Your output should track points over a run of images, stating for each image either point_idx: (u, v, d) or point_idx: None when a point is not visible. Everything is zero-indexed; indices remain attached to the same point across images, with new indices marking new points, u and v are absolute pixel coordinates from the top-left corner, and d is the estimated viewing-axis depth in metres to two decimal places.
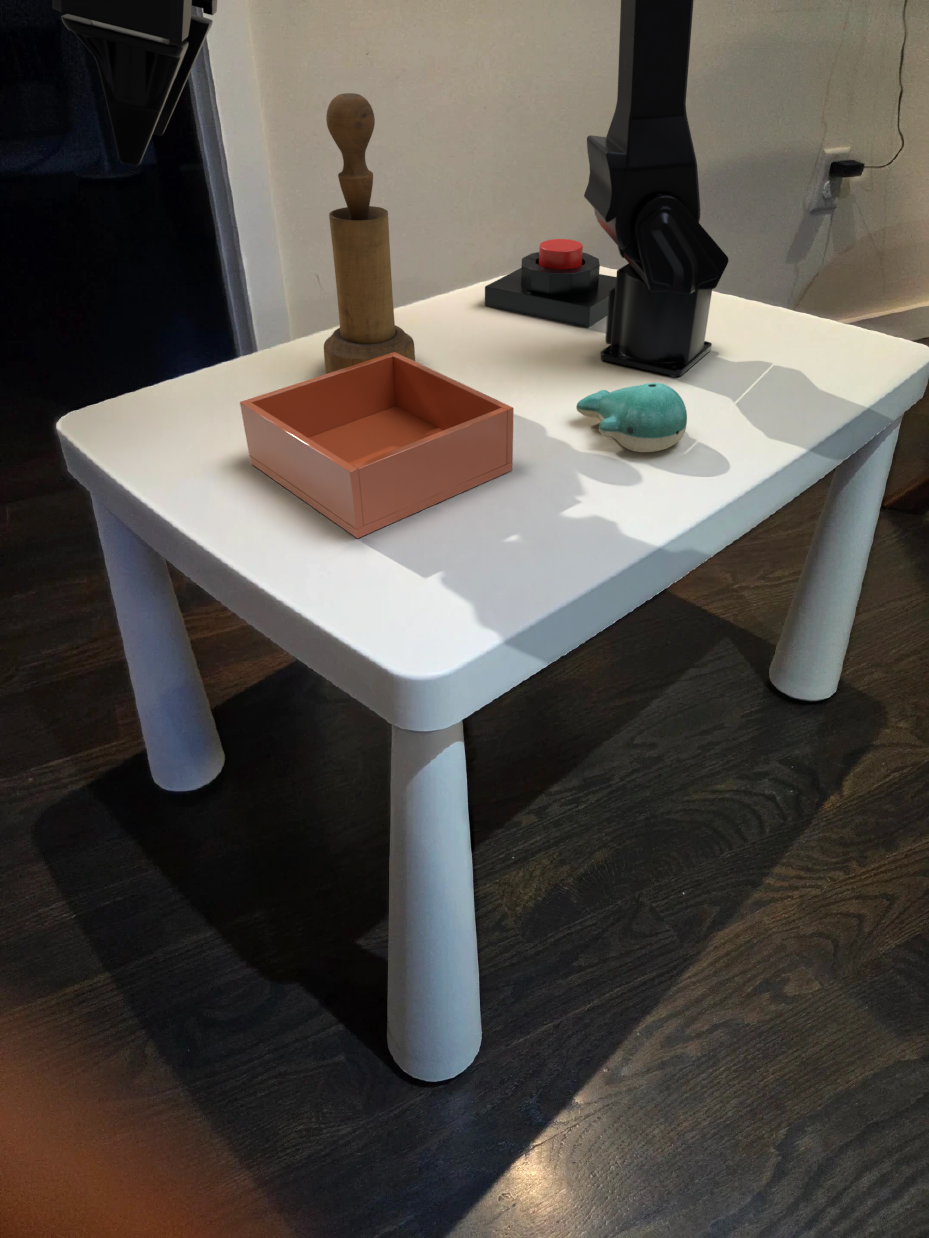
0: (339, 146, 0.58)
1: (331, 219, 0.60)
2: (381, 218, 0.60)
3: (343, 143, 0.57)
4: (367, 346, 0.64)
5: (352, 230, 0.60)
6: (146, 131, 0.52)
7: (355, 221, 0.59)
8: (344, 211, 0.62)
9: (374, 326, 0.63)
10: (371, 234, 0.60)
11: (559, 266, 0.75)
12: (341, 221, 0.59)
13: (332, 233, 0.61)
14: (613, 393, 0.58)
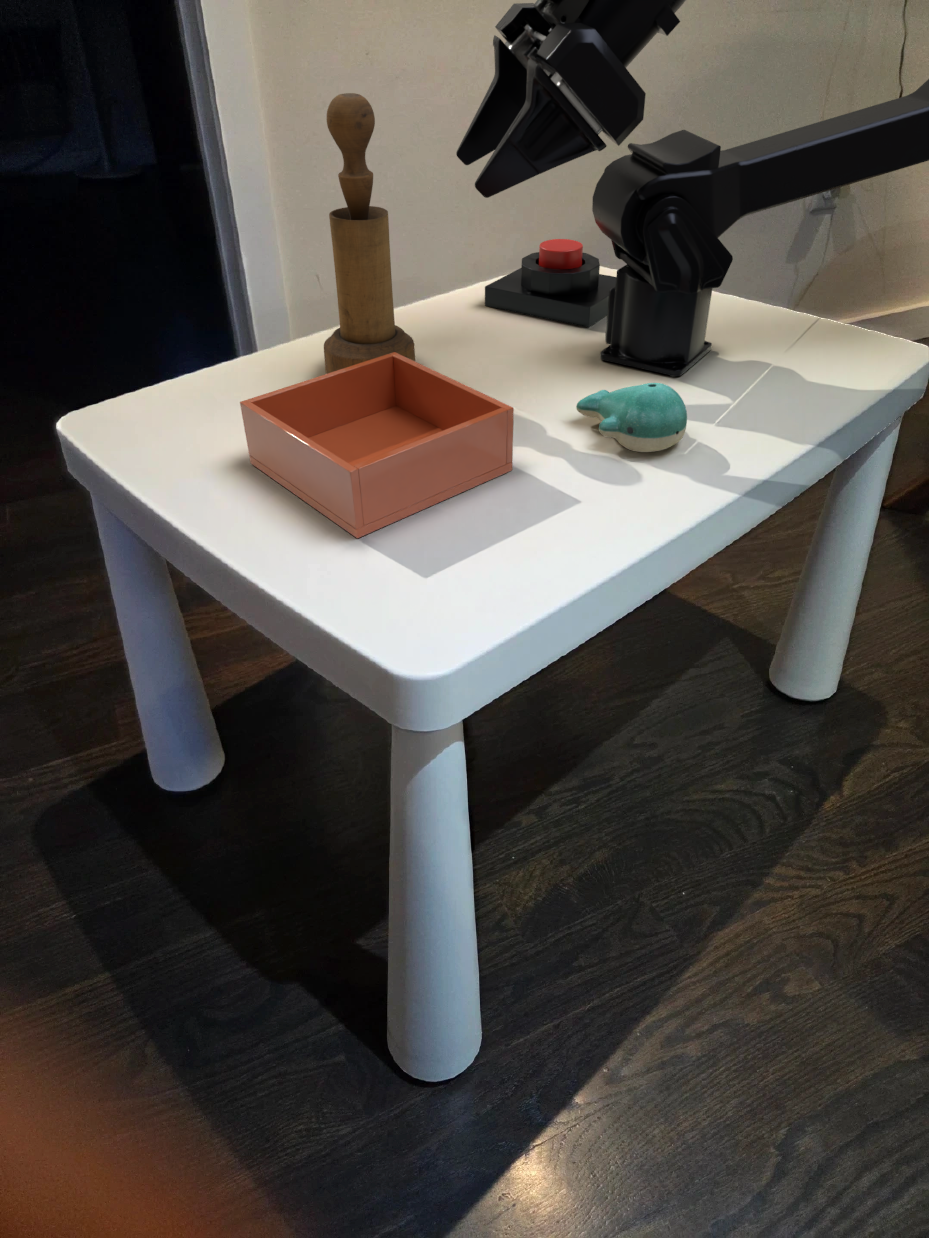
0: (339, 146, 0.58)
1: (331, 219, 0.60)
2: (381, 218, 0.60)
3: (343, 143, 0.57)
4: (367, 346, 0.64)
5: (352, 230, 0.60)
6: (516, 179, 0.55)
7: (355, 221, 0.59)
8: (344, 211, 0.62)
9: (374, 326, 0.63)
10: (371, 234, 0.60)
11: (559, 266, 0.75)
12: (341, 221, 0.59)
13: (332, 233, 0.61)
14: (613, 393, 0.58)
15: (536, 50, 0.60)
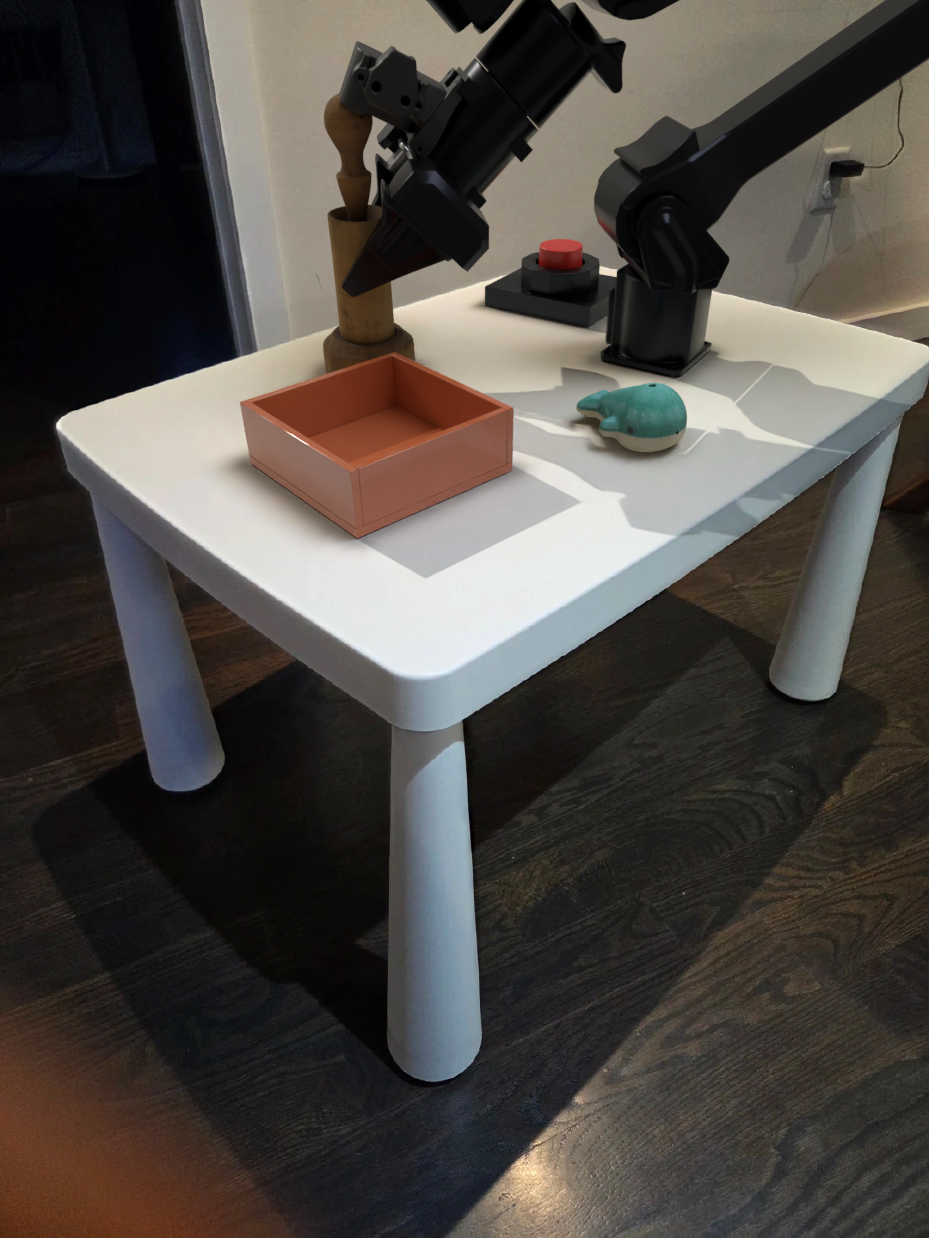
0: (337, 147, 0.57)
1: (329, 220, 0.60)
2: None
3: (341, 144, 0.57)
4: (367, 346, 0.64)
5: (351, 231, 0.59)
6: (379, 281, 0.61)
7: (354, 222, 0.59)
8: (342, 210, 0.61)
9: (373, 326, 0.63)
10: None
11: (559, 266, 0.75)
12: (340, 223, 0.59)
13: (330, 234, 0.60)
14: (613, 393, 0.58)
15: None
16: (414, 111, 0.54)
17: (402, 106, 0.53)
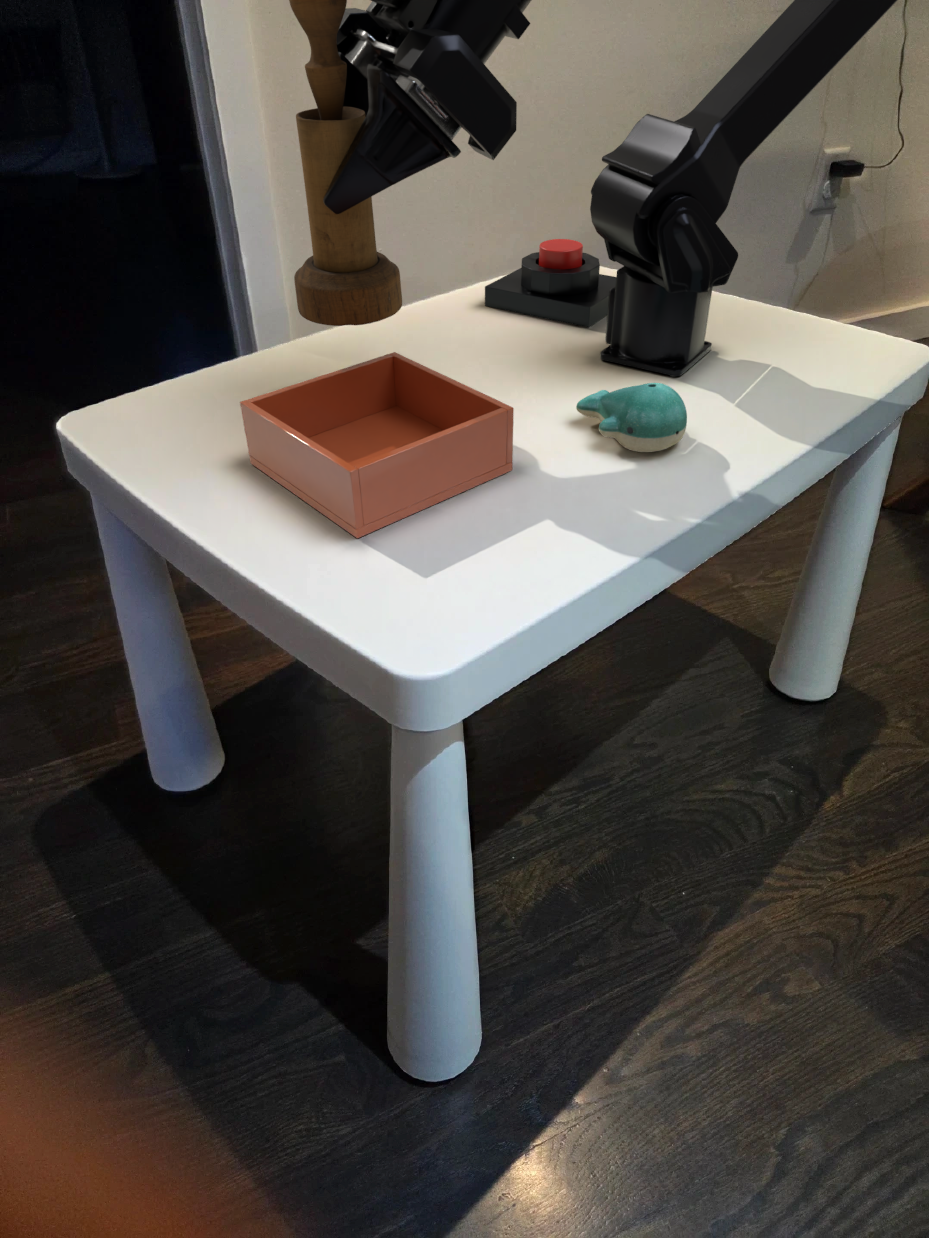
0: (307, 29, 0.48)
1: (302, 122, 0.50)
2: (361, 117, 0.51)
3: (314, 24, 0.48)
4: (355, 274, 0.55)
5: (331, 133, 0.50)
6: (368, 192, 0.52)
7: (335, 121, 0.50)
8: (308, 114, 0.52)
9: (359, 250, 0.55)
10: (353, 137, 0.51)
11: (559, 266, 0.75)
12: (318, 123, 0.50)
13: (303, 140, 0.51)
14: (613, 393, 0.58)
15: None
16: None
17: None
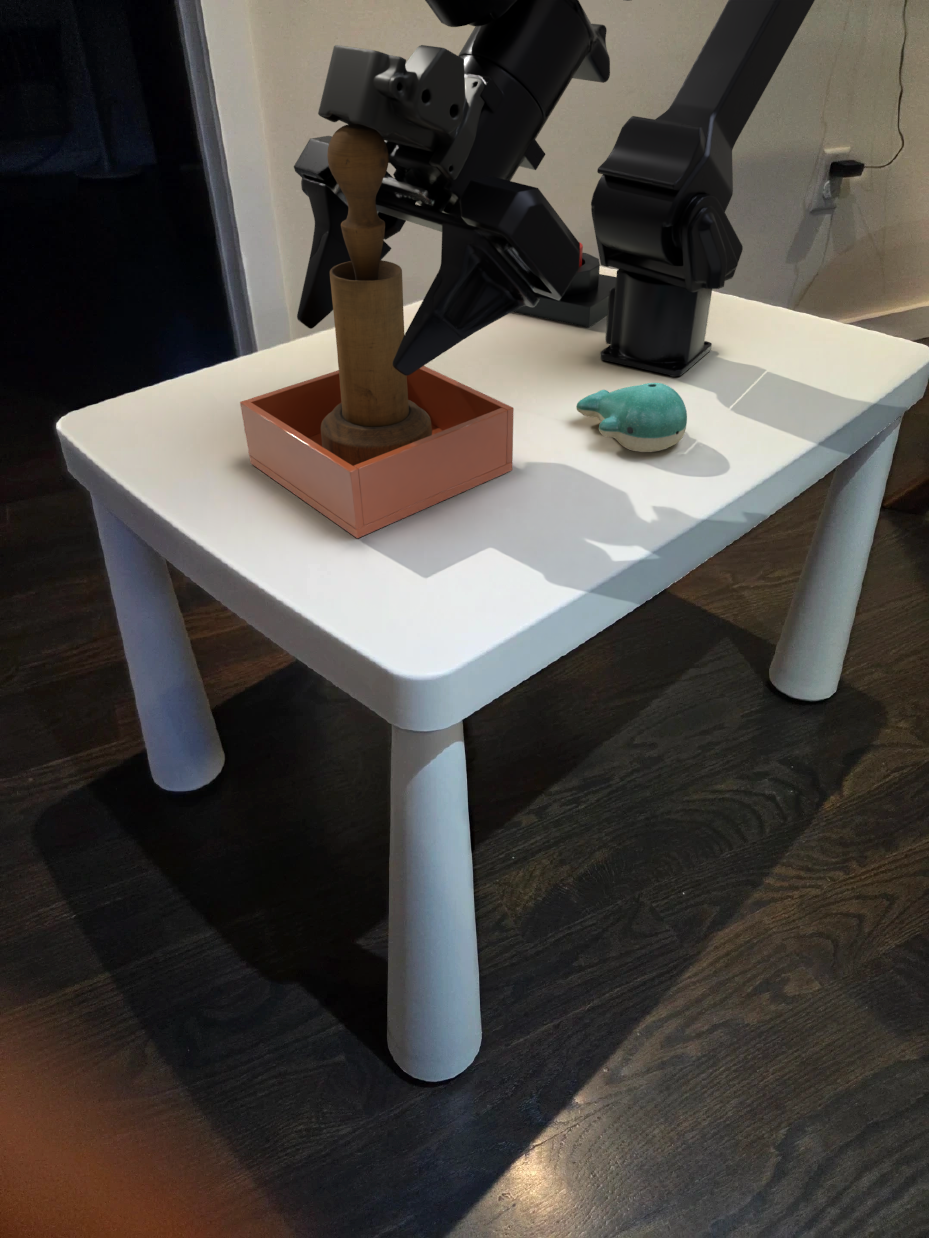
0: (352, 191, 0.46)
1: (346, 283, 0.48)
2: (401, 271, 0.49)
3: (361, 187, 0.45)
4: (399, 426, 0.52)
5: (379, 292, 0.48)
6: (439, 349, 0.48)
7: (383, 280, 0.48)
8: (337, 271, 0.49)
9: (400, 401, 0.52)
10: (397, 292, 0.49)
11: None
12: (366, 283, 0.47)
13: (346, 300, 0.48)
14: (613, 393, 0.58)
15: None
16: None
17: (451, 118, 0.43)
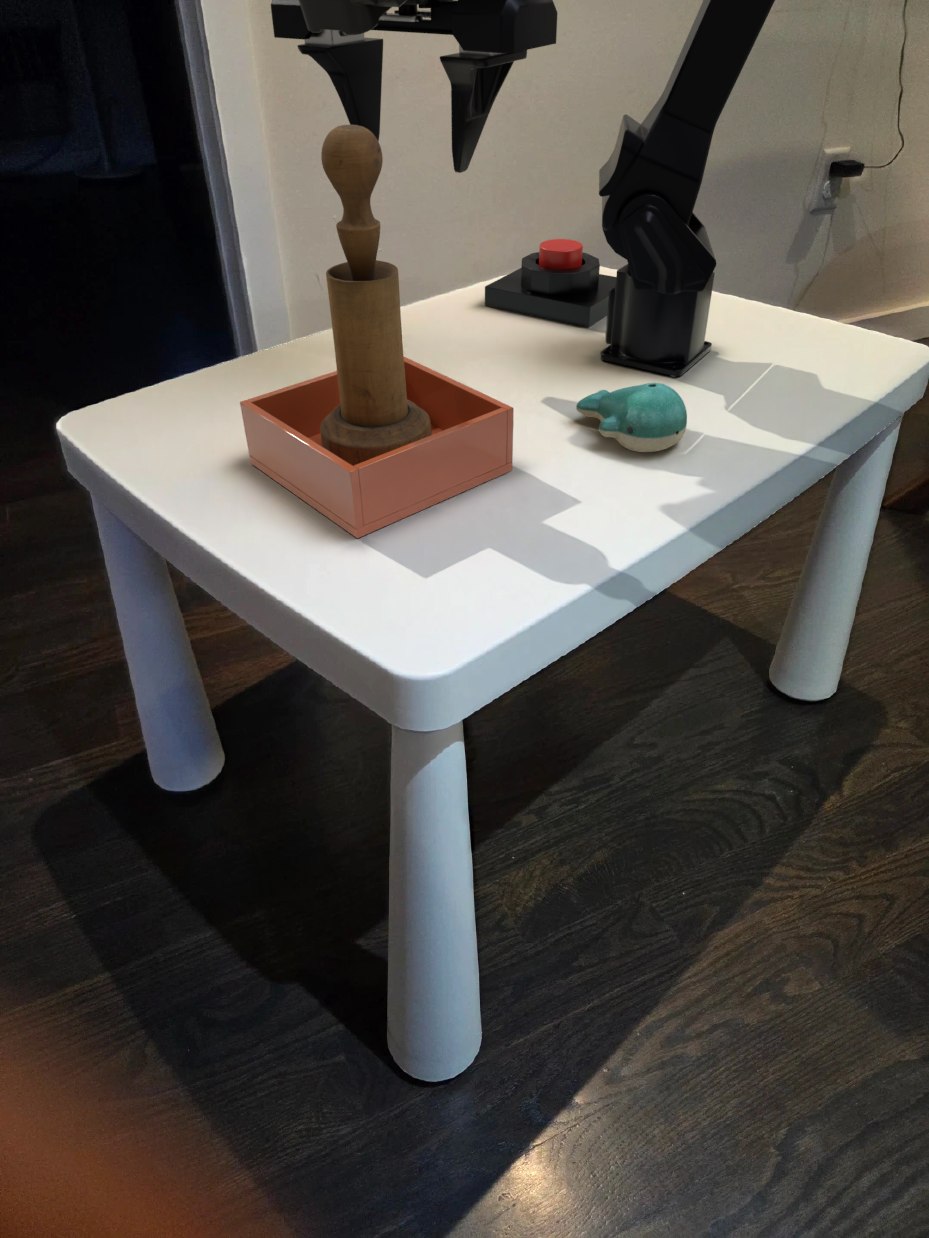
0: (346, 192, 0.46)
1: (342, 284, 0.48)
2: (397, 271, 0.49)
3: (355, 187, 0.45)
4: (398, 426, 0.52)
5: (375, 292, 0.48)
6: (476, 135, 0.60)
7: (379, 280, 0.48)
8: (333, 272, 0.49)
9: (398, 401, 0.52)
10: (393, 293, 0.49)
11: (559, 266, 0.75)
12: (361, 284, 0.47)
13: (342, 301, 0.48)
14: (613, 393, 0.58)
15: None
16: None
17: None
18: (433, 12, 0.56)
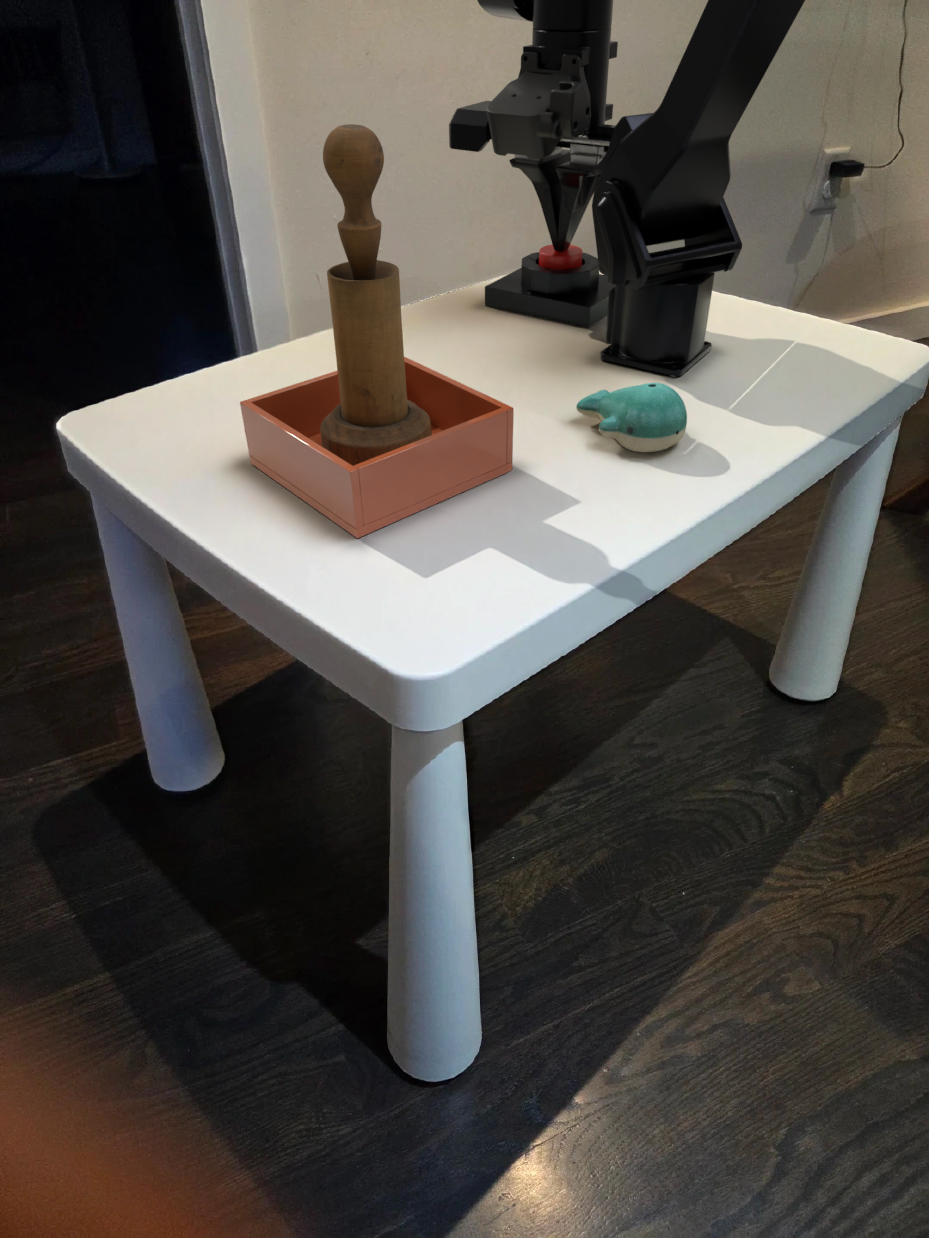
0: (347, 191, 0.46)
1: (342, 283, 0.48)
2: (398, 271, 0.49)
3: (356, 187, 0.45)
4: (398, 426, 0.52)
5: (376, 291, 0.48)
6: (577, 222, 0.75)
7: (379, 280, 0.48)
8: (334, 271, 0.49)
9: (399, 401, 0.52)
10: (394, 292, 0.49)
11: None
12: (362, 283, 0.47)
13: (343, 300, 0.48)
14: (613, 393, 0.58)
15: None
16: None
17: (587, 116, 0.64)
18: None
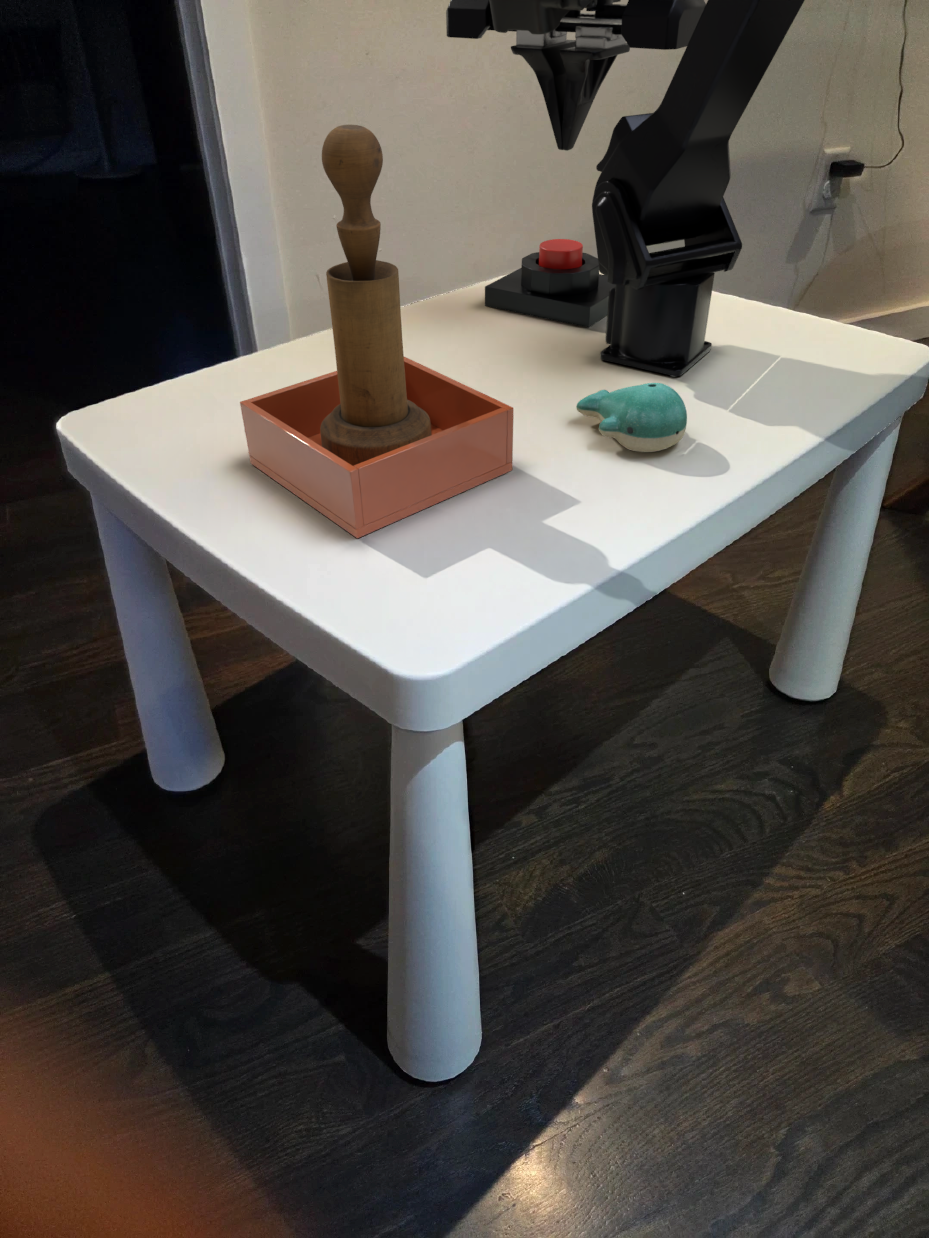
0: (346, 192, 0.46)
1: (342, 284, 0.48)
2: None
3: (355, 187, 0.45)
4: (398, 426, 0.52)
5: (375, 292, 0.48)
6: (582, 118, 0.70)
7: (378, 280, 0.48)
8: (334, 271, 0.49)
9: (398, 401, 0.52)
10: (393, 293, 0.49)
11: (559, 266, 0.75)
12: (361, 284, 0.47)
13: (342, 301, 0.48)
14: (613, 393, 0.58)
15: None
16: None
17: None
18: None
